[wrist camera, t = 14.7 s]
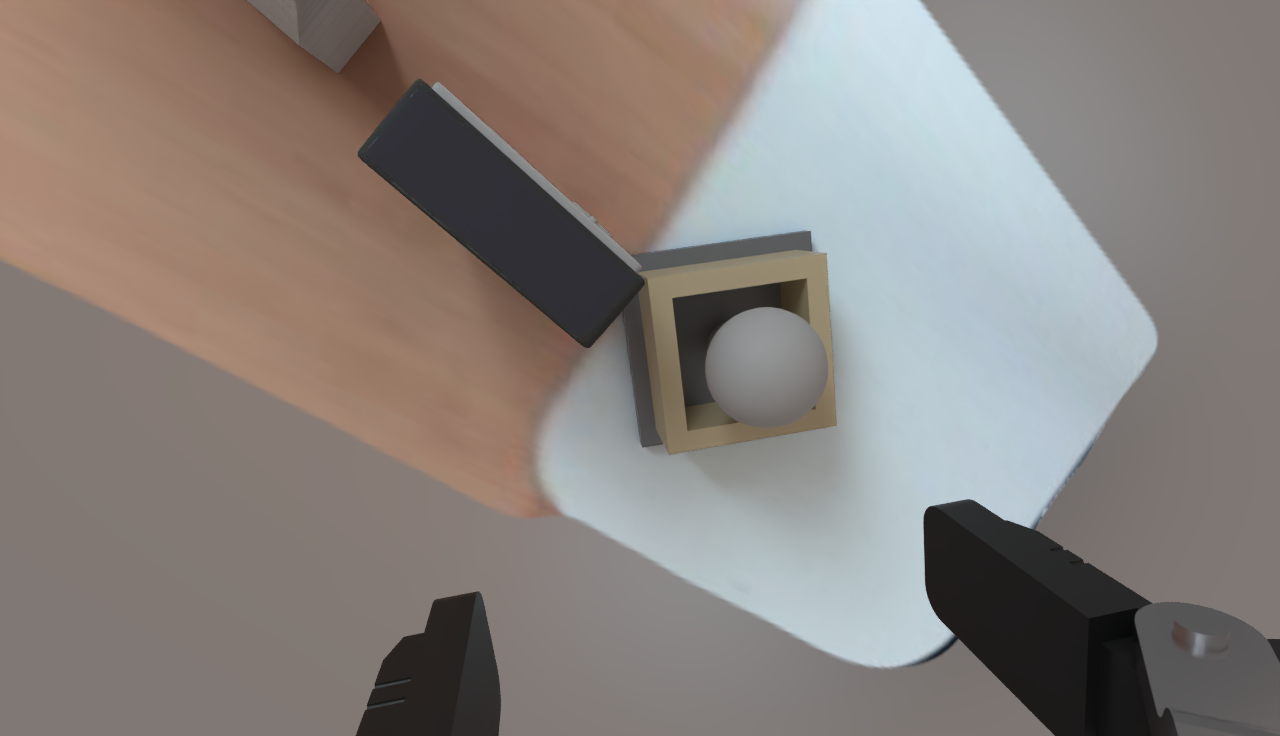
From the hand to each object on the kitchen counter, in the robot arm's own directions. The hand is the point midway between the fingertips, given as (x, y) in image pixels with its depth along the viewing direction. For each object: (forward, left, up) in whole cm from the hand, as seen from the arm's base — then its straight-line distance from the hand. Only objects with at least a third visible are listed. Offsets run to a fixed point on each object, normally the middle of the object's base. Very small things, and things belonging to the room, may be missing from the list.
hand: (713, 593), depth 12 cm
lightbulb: (+2, +8, -29) cm, 30 cm away
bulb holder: (+2, +8, -30) cm, 31 cm away
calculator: (-7, -3, -30) cm, 31 cm away
